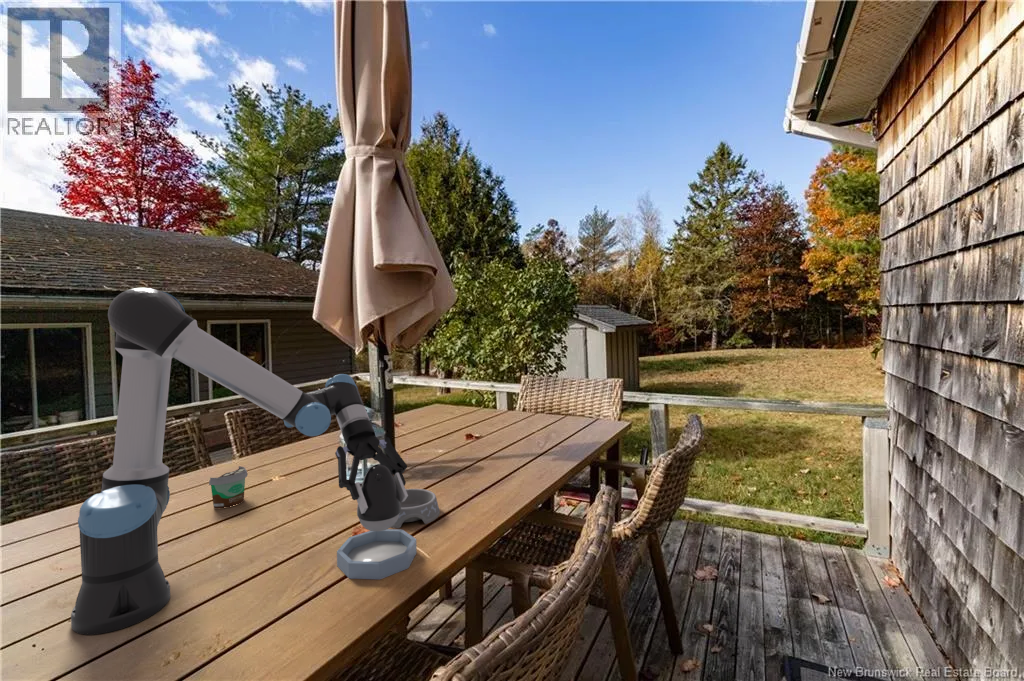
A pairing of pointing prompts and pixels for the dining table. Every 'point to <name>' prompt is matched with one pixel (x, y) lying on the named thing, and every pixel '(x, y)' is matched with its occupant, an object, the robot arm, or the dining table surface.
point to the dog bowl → (418, 507)
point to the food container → (228, 488)
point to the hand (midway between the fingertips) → (385, 504)
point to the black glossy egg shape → (379, 499)
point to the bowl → (376, 554)
